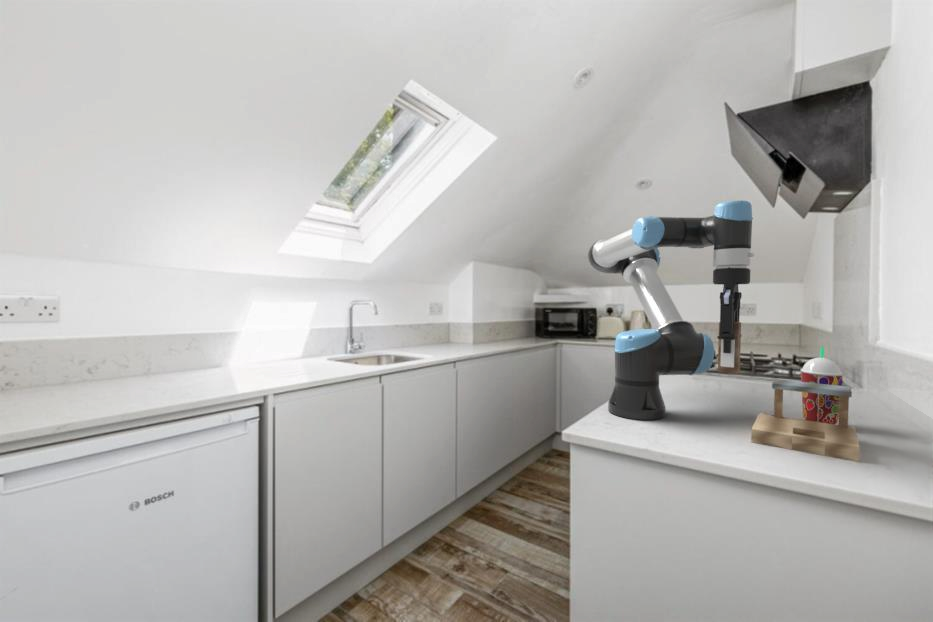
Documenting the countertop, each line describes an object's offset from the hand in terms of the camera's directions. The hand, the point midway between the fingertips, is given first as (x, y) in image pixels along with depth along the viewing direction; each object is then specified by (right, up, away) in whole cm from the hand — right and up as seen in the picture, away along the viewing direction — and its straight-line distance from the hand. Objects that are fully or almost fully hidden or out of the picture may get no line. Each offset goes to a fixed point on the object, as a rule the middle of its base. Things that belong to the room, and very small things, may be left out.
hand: (728, 365), depth 102 cm
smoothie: (+27, -16, +6) cm, 32 cm away
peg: (0, -2, 0) cm, 2 cm away
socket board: (+13, -17, -5) cm, 22 cm away
